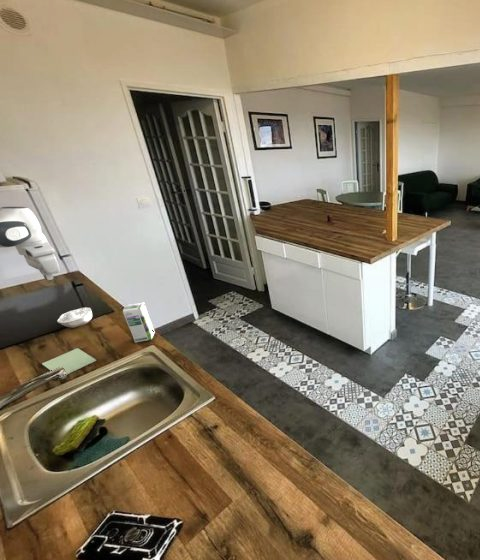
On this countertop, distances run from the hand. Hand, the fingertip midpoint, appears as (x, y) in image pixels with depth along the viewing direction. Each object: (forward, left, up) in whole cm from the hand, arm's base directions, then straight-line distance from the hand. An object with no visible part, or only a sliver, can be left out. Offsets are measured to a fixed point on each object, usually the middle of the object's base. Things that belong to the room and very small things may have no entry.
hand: (49, 279), depth 127 cm
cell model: (0, -10, -19) cm, 22 cm away
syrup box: (+8, -44, -19) cm, 49 cm away
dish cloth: (-13, -37, -19) cm, 44 cm away
